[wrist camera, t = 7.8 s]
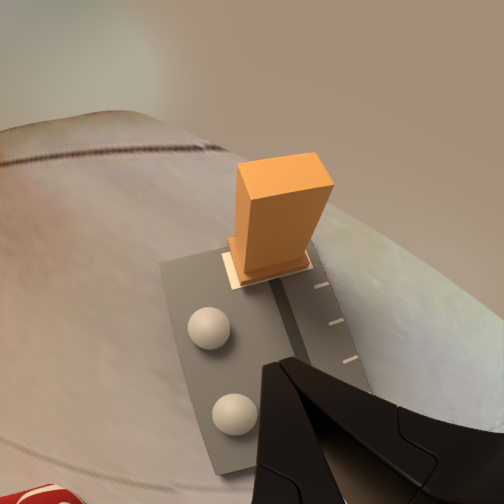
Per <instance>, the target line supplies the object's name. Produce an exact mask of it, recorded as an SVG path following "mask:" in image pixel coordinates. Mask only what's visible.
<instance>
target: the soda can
mask: <svg viewBox="0 0 504 504" xmlns="http://www.w3.org/2000/svg"><path fill="white" fill-rule="evenodd" d="M0 504H85V503H84V502H83V501H82V499H81V498H80V497H79V496H77V495H76V494H75V493H74V492H72V491H71V490H69V489H67V488H65V487H63V486H60V485H56V484H47V485H43V486H40V487H37V488H34V489H30V490H27V491H23V492H19V493H16V494H12V495H8V496H3V497H0Z"/></svg>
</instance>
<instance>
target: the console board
mask: <svg viewBox="0 0 504 504" xmlns="http://www.w3.org/2000/svg"><path fill="white" fill-rule="evenodd" d="M305 253H306V255H307V258H308V260H309V263H310V264H309V266H308V268H306V269H303V270H299V271H295V272H292V273H288V274H284V275H280V276H277V277H273V278H269V279H265V280H262V281H258V282H254V283H250V284H246V285H243V286H240V283H239V280H238V277H237V273H236V270H235V267H234V264H233V261H232V257H231V254H230V251H229V247H224V248H220V249H216V250H212V251H208V252H204V253H199V254H195V255H191V256H187V257H183V258H179V259H174V260H170V261H166V262H162V263H159V264H160V269H161V275H162V280H163V285H164V291H165V296H166V300H167V305H168V310H169V315H170V319H171V324H172V328H173V333H174V337H175V341H176V345H177V349H178V353H179V357H180V361H181V365H182V369H183V373H184V376H185V380H186V384H187V387H188V391H189V394H190V398H191V401H192V405H193V408H194V411H195V415H196V418H197V421H198V424H199V428H200V431H201V434H202V437H203V440H204V443H205V446H206V449H207V452H208V455H209V458H210V460H211V463H212V466H213V469H214V471H215V474H216V475H221V474H225V473H230V472H234V471H238V470H242V469H246V468H249V467H253V466H256V455H257V440H258V425H259V409H260V392H261V374H262V366H263V365H265V364H268V363H272V362H278V361H279V360H281V359H284V358H287V357H291V356H292V357H295V358H297V359H299V360H301V361H303V362H305V363H307V364H309V365H311V366H313V367H315V368H317V369H319V370H321V371H323V372H325V373H327V374H329V375H332V376H334V377H336V378H338V379H340V380H342V381H344V382H346V383H348V384H351V385H353V386H355V387H357V388H359V389H361V390H364V391H366V392H368V393H370V394H372V392H371V389H370V386H369V384H368V381H367V378H366V375H365V372H364V370H363V367H362V364H361V361H360V359H359V356H358V353H357V351H356V348H355V345H354V343H353V340H352V337H351V335H350V332H349V330H348V327H347V325H346V322H345V319H344V317H343V314H342V312H341V309H340V307H339V304H338V302H337V299H336V297H335V295H334V292H333V290H332V287H331V285H330V282H329V280H328V278H327V275H326V273H325V271H324V268H323V266H322V264H321V261H320V259H319V257H318V254H317V252H316V250H315V247H314V245H313V243H312V241H311V239H310V241H309V243H308V246H307V248H306V250H305Z"/></svg>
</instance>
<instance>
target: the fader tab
mask: <svg viewBox="0 0 504 504" xmlns="http://www.w3.org/2000/svg"><path fill="white" fill-rule="evenodd" d="M333 186H334V183H333V181H332V180H331V178H330V176H329V175H328V173H327V171H326V169H325V168H324V166H323V165H322V163H321V161H320V159H319V158H318V156H317V154H316V153H315V152H313V153H305V154H298V155H290V156H283V157H276V158H270V159H263V160H257V161H251V162H245V163H240V164H237V182H236V212H235V236H233V237H229V238H227V244H228V247H229V251H230V254H231V257H232V261H233V264H234V267H235V270H236V273H237V277H238V280H239V283H240V286H243V285H246V284H250V283H254V282H258V281H262V280H265V279H269V278H273V277H277V276H280V275H284V274H288V273H292V272H295V271H299V270H303V269H306V268H308V266H309V264H310V263H309V260H308V258H307V255H306V253H305V250H306V248H307V246H308V243H309V241H310V239H311V237H312V235H313V232H314V230H315V228H316V226H317V223H318V221H319V219H320V217H321V214H322V212H323V210H324V207H325V205H326V203H327V201H328V198H329V196H330V194H331V191H332V189H333Z"/></svg>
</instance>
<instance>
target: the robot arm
mask: <svg viewBox="0 0 504 504" xmlns="http://www.w3.org/2000/svg"><path fill="white" fill-rule="evenodd" d="M342 496H343V497H342ZM343 498H344V499H345V501H346V502H347V504H504V433H495V432H488V431H483V430H478V429H473V428H469V427H464V426H460V425H455V424H451V423H447V422H444V421H440V420H437V419H433V418H430V417H427V416H424V415H421V414H419V413H416V412H413V411H411V410H408V409H406V408H403V407H401V406H398V407H397V405H396V404H393V403H391V402H389V401H386V400H384V399H382V398H379V397H377V396H375V395H373V394H370V393H368V392H366V391H364V390H361V389H359V388H357V387H355V386H353V385H351V384H348V383H346V382H344V381H342V380H340V379H338V378H336V377H334V376H332V375H329V374H327V373H325V372H323V371H321V370H319V369H317V368H315V367H313V366H311V365H309V364H307V363H305V362H303V361H301V360H299V359H297V358H295V357H292V356H291V357H287V358H284V359H281V360H279V361H278V362H272V363H268V364H265V365H263V366H262V374H261V392H260V409H259V425H258V440H257V455H256V467H255V480H254V489H253V497H252V502H251V504H345V502H344V499H343Z"/></svg>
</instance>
